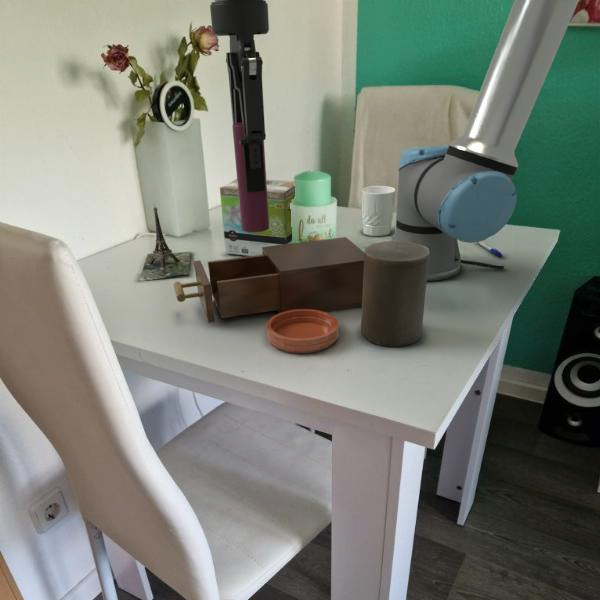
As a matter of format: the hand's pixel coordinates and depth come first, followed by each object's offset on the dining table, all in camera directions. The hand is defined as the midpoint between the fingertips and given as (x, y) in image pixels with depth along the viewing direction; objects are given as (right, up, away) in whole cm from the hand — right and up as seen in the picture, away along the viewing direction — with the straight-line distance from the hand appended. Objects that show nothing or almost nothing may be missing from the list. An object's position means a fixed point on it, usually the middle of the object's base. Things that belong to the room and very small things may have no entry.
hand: (252, 186), depth 85 cm
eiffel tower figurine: (-21, -4, +35) cm, 41 cm away
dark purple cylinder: (0, -5, +3) cm, 6 cm away
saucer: (+8, -23, +5) cm, 24 cm away
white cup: (+26, +8, +51) cm, 58 cm away
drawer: (-4, -15, +14) cm, 22 cm away
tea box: (-1, +1, +41) cm, 41 cm away
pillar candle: (+22, -22, +5) cm, 31 cm away
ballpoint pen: (+49, 0, +37) cm, 61 cm away
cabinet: (+10, -13, +18) cm, 25 cm away
